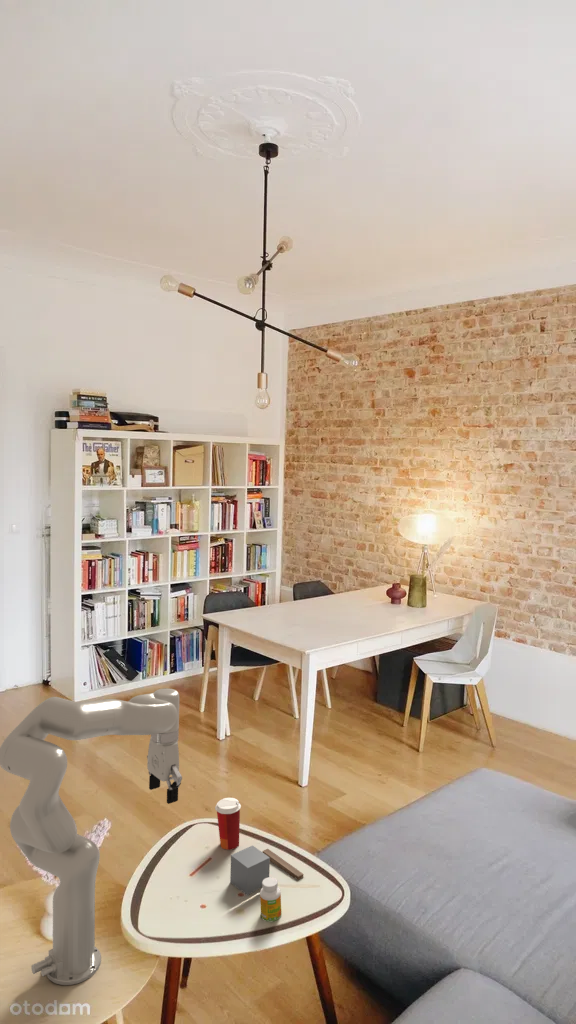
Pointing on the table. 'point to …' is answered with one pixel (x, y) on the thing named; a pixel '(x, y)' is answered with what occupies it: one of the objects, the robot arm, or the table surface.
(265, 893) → the supplement bottle
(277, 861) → the long brown rectangular bar
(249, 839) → the table surface
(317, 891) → the table surface
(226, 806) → the paper cup
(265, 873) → the grey matte cube
